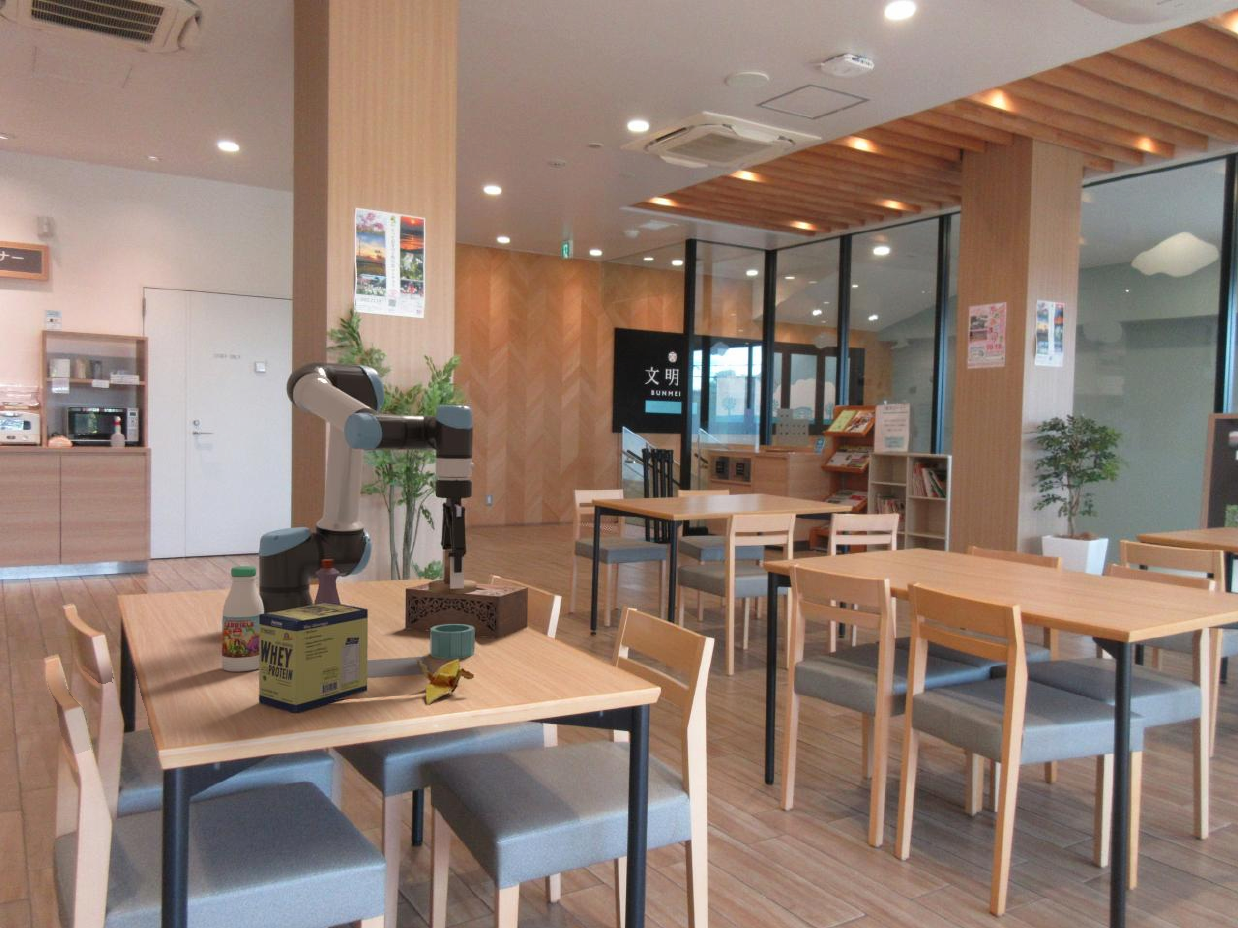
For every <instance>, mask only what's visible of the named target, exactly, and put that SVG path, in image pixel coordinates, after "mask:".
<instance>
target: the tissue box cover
mask: <svg viewBox="0 0 1238 928" xmlns="http://www.w3.org/2000/svg"><path fill="white" fill-rule="evenodd" d="M528 602H529V587H525V586H512V585H502V584H501V585H498V584H487V583H477V590H476V591H474V592H470V593H463V594H438V593H432V592H429V582H426V583H422V584H418V585H415V586H411V587H407V588H405V613H404V614H405V623H404V625H405V626H404V629H406V628H411V629H410V630H415V629H418V630H417V631H425V630H430V628H432V627H434V626H438V625H444V624H465V625H470V626H473V627H474V628H475V637H476V636H477V637H482V636H485V637H484V638H492V637H494V639H500V638H501V639H502V638H503V637H506V636H509V635H510V634H513V633H516V632H518V631H520V630H523V629H526V628H528V616H529V615H528V612H529V611H528V610H529V609H528V607H529V605H528V604H529V603H528ZM522 628H523V629H522ZM505 635H506V636H505Z"/></svg>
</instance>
